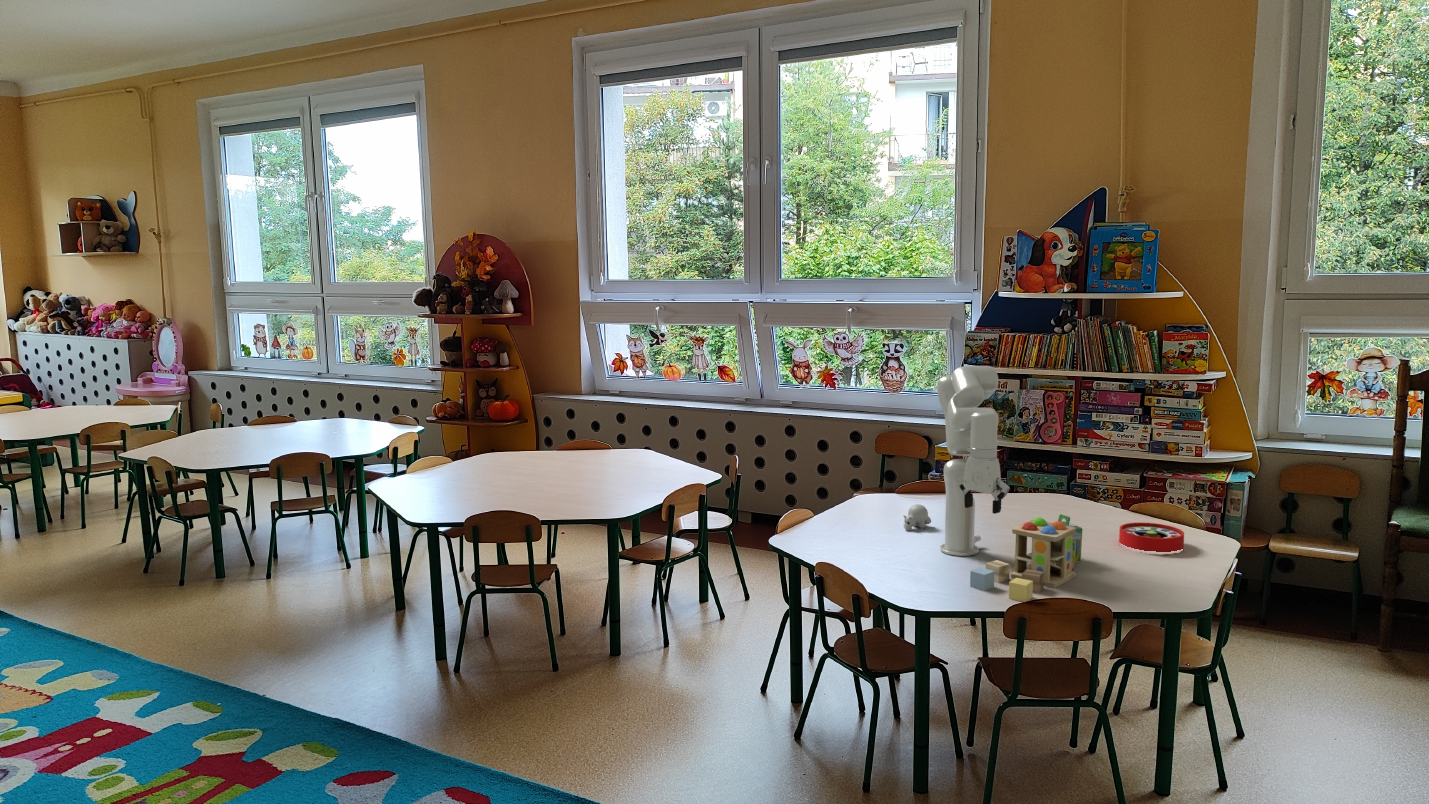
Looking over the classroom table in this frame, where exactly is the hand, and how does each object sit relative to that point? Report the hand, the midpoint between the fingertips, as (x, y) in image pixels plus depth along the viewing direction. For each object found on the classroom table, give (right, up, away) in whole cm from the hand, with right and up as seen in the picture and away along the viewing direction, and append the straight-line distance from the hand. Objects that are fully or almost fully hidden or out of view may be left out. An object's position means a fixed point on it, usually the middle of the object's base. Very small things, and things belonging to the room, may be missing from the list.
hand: (982, 509), depth 277 cm
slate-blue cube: (+1, -24, +3) cm, 24 cm away
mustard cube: (+9, -25, -7) cm, 27 cm away
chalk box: (+34, -20, +27) cm, 48 cm away
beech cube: (+7, -23, +10) cm, 26 cm away
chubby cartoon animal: (-6, -15, +68) cm, 69 cm away
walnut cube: (+15, -24, +1) cm, 28 cm away
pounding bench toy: (+25, -22, +13) cm, 36 cm away
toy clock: (+69, -18, +40) cm, 82 cm away
